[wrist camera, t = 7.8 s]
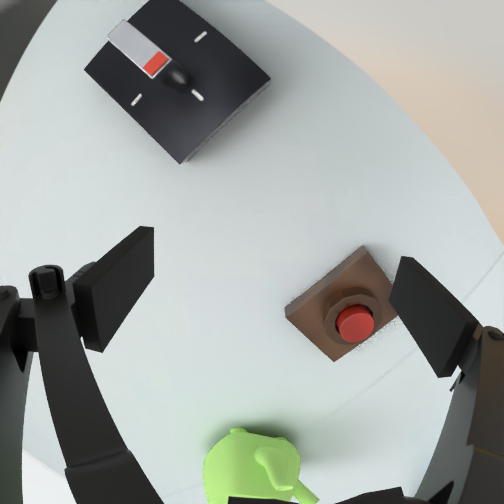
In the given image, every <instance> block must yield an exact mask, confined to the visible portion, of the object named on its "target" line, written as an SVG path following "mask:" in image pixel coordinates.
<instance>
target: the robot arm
mask: <svg viewBox="0 0 504 504" xmlns="http://www.w3.org/2000/svg"><path fill="white" fill-rule="evenodd" d="M28 276H29V281H30V286H31V291H32V295H33V299H31V298H19V294H18V290H17V289H16V287H14V286H0V504H23V495H22V439H23V424H24V413H25V404H26V395H27V388H28V381H29V375H30V369H31V364H32V358H33V353H34V352H39V359H40V365H41V371H42V376H43V381H44V386H45V391H46V396H47V400H48V404H49V408H50V412H51V416H52V420H53V424H54V427H55V431H56V434H57V438H58V441H59V444H60V447H61V450H62V453H63V456H64V459H65V462H66V466H67V468H66V469H65V475H66V478H67V481H68V484H69V487H70V489H71V491H72V494H73V496H74V499H75V501H76V503H77V504H164V503H163V501H162V500H161V498H160V497H159V495H158V494H157V492H156V491H155V489H154V488H153V486H152V485H151V483H150V482H149V480H148V478H147V477H146V475H145V473H144V472H143V470H142V469H141V467H140V465H139V463H138V462H137V460H136V458H135V457H134V455H133V454H132V452H131V451H130V450H128V448H127V446H126V445H125V443H124V441H123V439H122V437H121V435H120V433H119V431H118V429H117V427H116V425H115V423H114V421H113V419H112V417H111V415H110V413H109V411H108V408H107V406H106V404H105V402H104V399H103V397H102V395H101V392H100V390H99V388H98V385H97V383H96V380H95V378H94V375H93V373H92V370H91V368H90V365H89V362H88V360H87V357H86V354H85V351H84V349H83V346H82V343H81V340H80V338H81V337H83V341H84V345H85V348H86V349H90V350H94V351H97V352H101V353H103V351H104V350H105V348H106V347H107V345H108V343H109V342H110V340H111V339H112V337H113V336H114V334H115V333H116V331H117V330H118V328H119V327H120V325H121V324H122V322H123V321H124V319H125V318H126V316H127V315H128V313H129V312H130V310H131V309H132V307H133V306H134V305H135V303H136V302H137V300H138V299H139V297H140V296H141V294H142V293H143V292H144V290H145V289H146V287H147V286H148V284H149V283H150V282H151V280H152V279H153V277H154V227H146V226H139V227H138V228H137V229H136V230H134V231H133V232H132V233H131V234H129V235H128V236H127V237H126V238H124V239H123V240H122V241H121V242H120V243H118V244H117V245H116V246H115V247H113V248H112V249H111V250H110V251H109V252H108V253H106V254H105V255H104V256H103V257H102V258H100V259H99V260H98V261H97V262H91V263H89V264H87V265H84V266H83V267H82V268H80V269H79V270H78V272H76V273H75V274H73V276H71V277H70V278H69V279H68V280H66V281H64V275H63V269H62V268H61V267H59V266H57V265H44V266H40V267H37V268H35V269H33V270H32V271H31V272H30V273H29V275H28ZM388 301H389V303H390V304H391V305H392V307H393V308H394V310H395V311H396V313H397V314H398V316H399V317H400V319H401V320H402V322H403V323H404V325H405V326H406V328H407V329H408V331H409V332H410V334H411V335H412V337H413V338H414V340H415V341H416V343H417V345H418V346H419V348H420V349H421V351H422V352H423V354H424V356H425V357H426V359H427V360H428V362H429V364H430V365H431V367H432V368H433V370H434V372H435V373H436V375H437V377H438V378H442V377H451V376H452V374H453V372H454V371H455V369H456V367H457V365H458V366H459V367H460V369H461V370H462V371H461V372H460V374H459V376H458V377H457V379H456V381H455V382H454V384H453V386H452V387H451V389H450V391H451V392H452V390H453V389H454V393H453V396H452V400H451V404H450V407H449V410H448V414H447V417H446V420H445V423H444V426H443V429H442V432H441V435H440V438H439V441H438V443H437V446H436V449H435V451H434V454H433V457H432V459H431V462H430V464H429V466H428V469H427V471H426V473H425V476H424V478H423V480H422V482H421V484H420V487H419V489H418V491H417V493H416V495H415V496H414V497H406V496H404V495H403V491H402V488H401V487H396V488H391V489H386V490H380V491H375V492H368V493H364V494H361V495H358V496H356V497H353V498H350V499H347V500H345V501H342V502H339V503H336V504H504V333H503V332H501V331H500V330H499V329H497V328H495V327H491V326H485V327H483V326H482V325H481V324H480V323H479V321H478V320H477V319H476V318H475V317H474V316H473V315H472V314H471V313H470V312H469V311H468V310H467V309H466V308H465V307H464V306H463V305H462V304H461V303H460V302H459V301H458V300H457V299H456V298H455V297H454V296H453V295H452V294H451V293H450V292H449V291H448V290H447V289H446V288H445V287H444V286H443V285H442V284H441V283H440V282H439V281H438V280H437V279H436V278H435V277H434V276H433V275H431V274H430V273H429V272H428V271H427V270H426V269H425V268H424V267H423V266H422V265H421V264H420V263H418V262H417V261H416V260H415V259H414V258H413V257H405V256H401V260H400V263H399V267H398V270H397V274H396V277H395V280H394V284H393V287H392V290H391V293H390V296H389V299H388ZM227 504H299V503H293V502H288V501H283V500H279V499H265V498H245V497H232V496H229V497H228V503H227Z"/></svg>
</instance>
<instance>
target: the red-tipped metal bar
mask: <svg viewBox="0 0 504 504" xmlns="http://www.w3.org/2000/svg"><path fill="white" fill-rule="evenodd" d="M106 38H107V39H108V40H109V41H110V42H111V43H112V44H113V45H115V46H116V47H117V48H118V49H119V50H120V51H121V52H123V53H124V54H125V55H126V56H127V57H128V58H129V59H131V60H132V61H133V62H134V63H135V64H136V65H137V66H138V67H139V68H141V69H142V70H143V71H144V72H145V73H146V74H147V75H148V76H149V77H150V78H152V79H153V80H155V81H157V82H159V83H161V84H163V85H165V86H167V87H169V88H171V89H173V90H175V91H177V92H179V93H181V92H182V91H183V90H184V89H185V88H186V87H187V86H188V85H189V84H190V83H191V82H192V81H193V80H195V78H194V77H193V76H192V75H191V74H190V73H189V72H188V71H186V70H185V69H184V68H183V67H182V66H181V65H180V64H179V63H177V62H176V61H175V60H174V59H173V58H172V57H171V56H169V55H168V54H167V53H166V52H165V51H164V50H162V49H161V48H160V47H159V46H158V45H157V44H155V43H154V42H153V41H152V40H150V39H149V38H148V37H147V36H145V35H144V34H143V33H142V32H140V31H139V30H138V29H136V28H135V27H134V26H132V25H131V24H130V23H128V22H127V21H126V20H124V19H123V20H122V21H121V22H120V23H119V24H118V25H117V26H116V27H115V28H114V29H113V30H112V31H111V32H110V33H109V34H108V35H107V37H106Z"/></svg>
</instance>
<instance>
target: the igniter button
mask: <svg viewBox="0 0 504 504" xmlns="http://www.w3.org/2000/svg"><path fill="white" fill-rule="evenodd" d="M337 326H338V329H339V332H340V334H341V336H342V338H343V339H344V340H346V341H348V342H359V341H361V340H364V339H365V338H367V337H368V336H369V335H370V334H371V332H372V330H373V328H374V320H373V318H372V316H371V314H370V313H369V311H368V309H367V308H365V307H363V306H360V305H353V306H350V307H348V308H346V309H344V310H343V311H342V312H341V313H340V315H339V317H338V320H337Z"/></svg>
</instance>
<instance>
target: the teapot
mask: <svg viewBox="0 0 504 504" xmlns="http://www.w3.org/2000/svg"><path fill="white" fill-rule="evenodd" d="M299 471H300V455H299V452H298V451H297V449H296V448H295V447H294V446H293V445H292V444H291V443H290V442H287V439H286V438H284V437H274V438H272V437H267V436H262V435H257V434H252V433H248V432H247V430H246V429H244V428H239V427H236V428H232V429H231V430H230V434H229V435H227V436H225V437H224V438H222V439H221V440H220V441H219V442H218V443H217V444H215V445H214V446H213V448H212V449H211V450H210V451H209V452H208V454H207V455H206V457H205V460H204V464H203V484H204V490H205V494H206V497H207V501H208V504H227V503H228V497H229V496H232V497H245V498H265V499H279V500H283V501H288V502H290V500H291V498H292V495H293V496H294V497H295V498H296V499H297V500H298V501H299V502H300V503H301V504H315V503H317V502H318V501H319V500H320V499H319V498H317V497H316V496H315V495H314V494H313V493H312V492H311V491H310V490H309V489H308V488H307V487H306V486H305V485H304V484H302V483H301V482H300V481H299V480H298V477H299Z"/></svg>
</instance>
